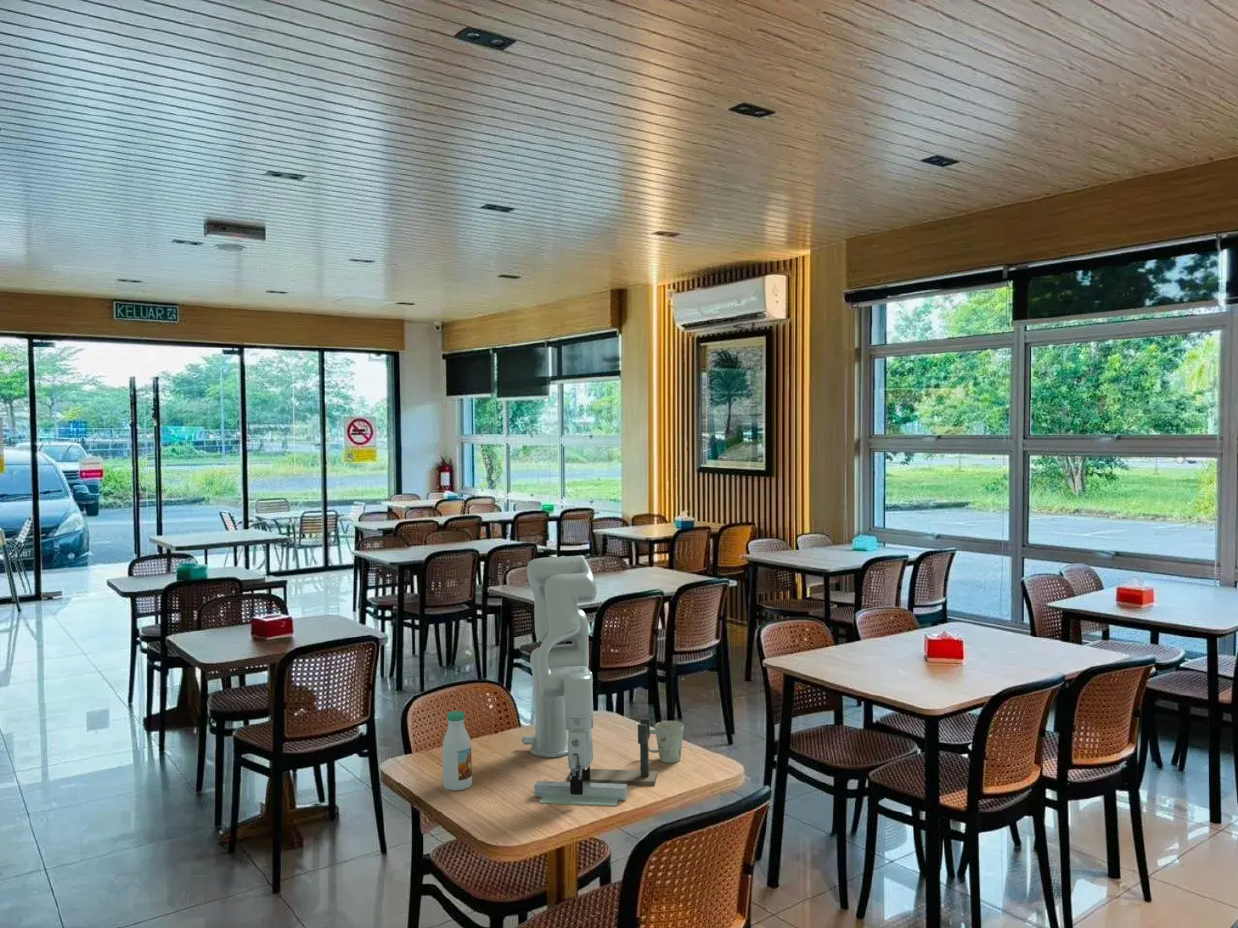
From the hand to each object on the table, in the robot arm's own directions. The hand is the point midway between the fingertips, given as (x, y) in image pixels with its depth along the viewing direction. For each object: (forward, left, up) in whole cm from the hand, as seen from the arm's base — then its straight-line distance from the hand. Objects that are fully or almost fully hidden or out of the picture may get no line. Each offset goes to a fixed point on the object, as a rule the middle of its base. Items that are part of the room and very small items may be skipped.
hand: (580, 786), depth 238 cm
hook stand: (+6, +14, -3) cm, 15 cm away
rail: (0, 0, -2) cm, 2 cm away
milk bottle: (-35, +5, -3) cm, 35 cm away
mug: (+18, +31, -3) cm, 36 cm away
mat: (0, 0, -3) cm, 3 cm away
